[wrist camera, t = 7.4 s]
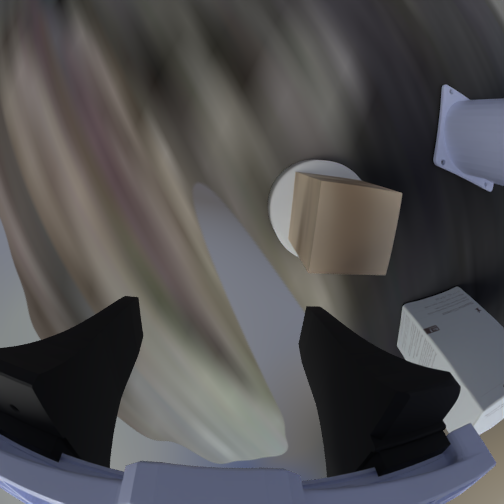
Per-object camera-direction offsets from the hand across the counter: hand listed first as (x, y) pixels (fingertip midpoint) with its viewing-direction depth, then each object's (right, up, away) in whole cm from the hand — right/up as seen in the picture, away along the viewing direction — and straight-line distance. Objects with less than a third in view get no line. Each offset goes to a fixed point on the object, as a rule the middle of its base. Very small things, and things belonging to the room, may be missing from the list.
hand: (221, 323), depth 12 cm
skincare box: (+20, -4, +14) cm, 25 cm away
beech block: (+6, +6, +7) cm, 11 cm away
